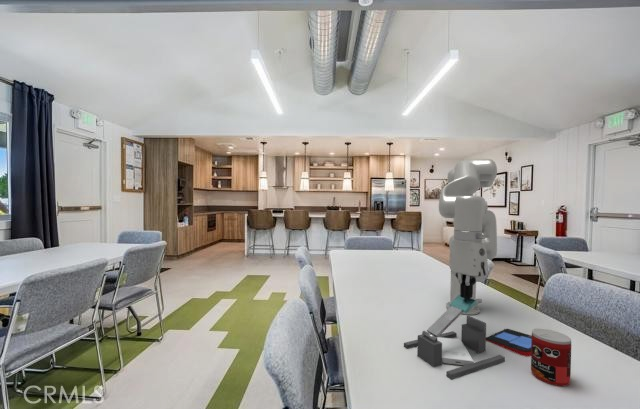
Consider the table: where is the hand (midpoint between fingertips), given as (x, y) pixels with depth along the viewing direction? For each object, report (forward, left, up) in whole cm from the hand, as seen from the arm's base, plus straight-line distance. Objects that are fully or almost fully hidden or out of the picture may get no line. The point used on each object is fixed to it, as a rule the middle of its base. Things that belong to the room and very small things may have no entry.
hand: (466, 297), depth 86 cm
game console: (-20, +3, -17) cm, 26 cm away
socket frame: (+5, 0, -16) cm, 17 cm away
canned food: (-9, +18, -16) cm, 26 cm away
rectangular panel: (+7, 0, -6) cm, 9 cm away
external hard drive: (+5, 0, -16) cm, 17 cm away
